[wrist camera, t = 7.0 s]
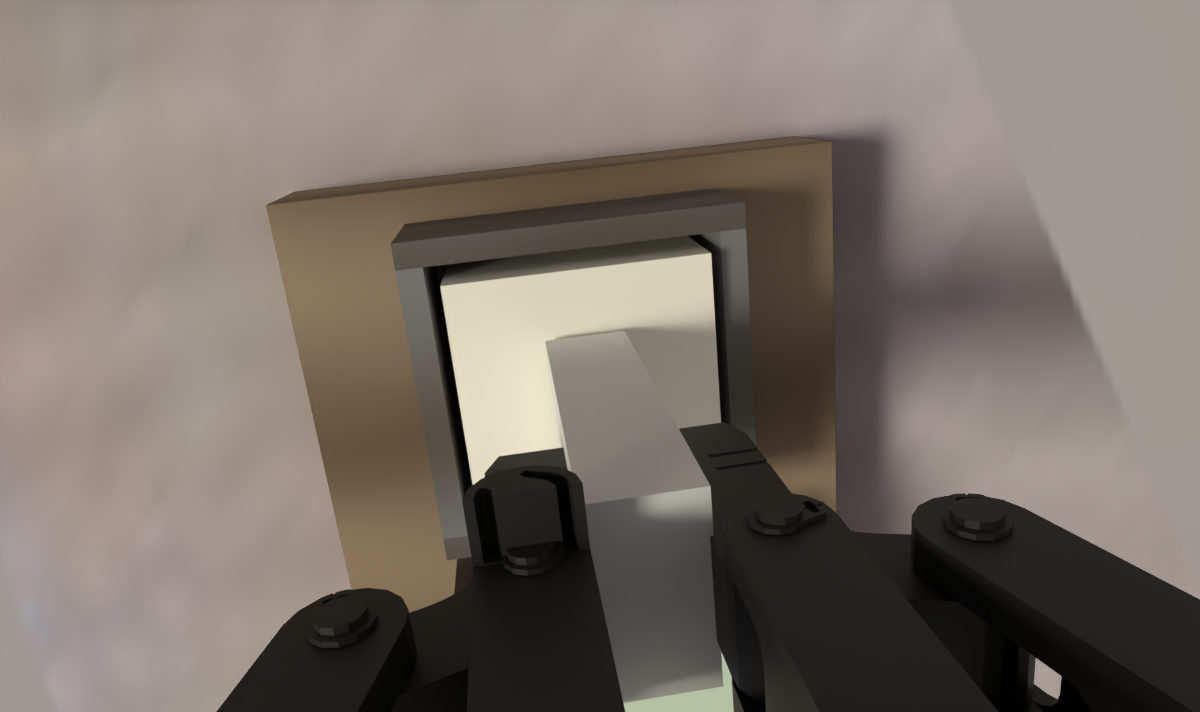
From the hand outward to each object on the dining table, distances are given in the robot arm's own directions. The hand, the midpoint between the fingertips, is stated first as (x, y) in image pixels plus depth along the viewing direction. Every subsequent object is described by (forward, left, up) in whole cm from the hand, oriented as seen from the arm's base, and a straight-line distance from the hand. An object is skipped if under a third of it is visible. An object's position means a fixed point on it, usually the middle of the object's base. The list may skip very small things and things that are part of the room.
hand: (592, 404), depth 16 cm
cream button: (0, 0, -3) cm, 3 cm away
